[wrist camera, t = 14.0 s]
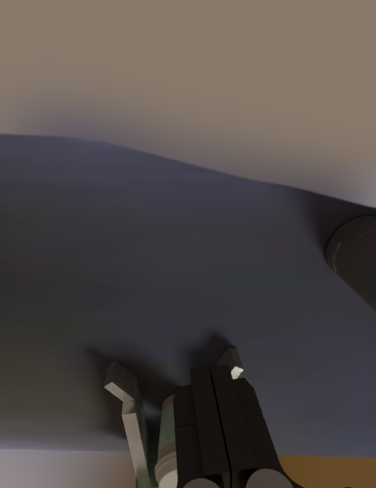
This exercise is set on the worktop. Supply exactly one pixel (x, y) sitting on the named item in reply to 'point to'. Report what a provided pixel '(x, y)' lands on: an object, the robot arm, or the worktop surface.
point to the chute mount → (134, 417)
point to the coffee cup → (167, 448)
